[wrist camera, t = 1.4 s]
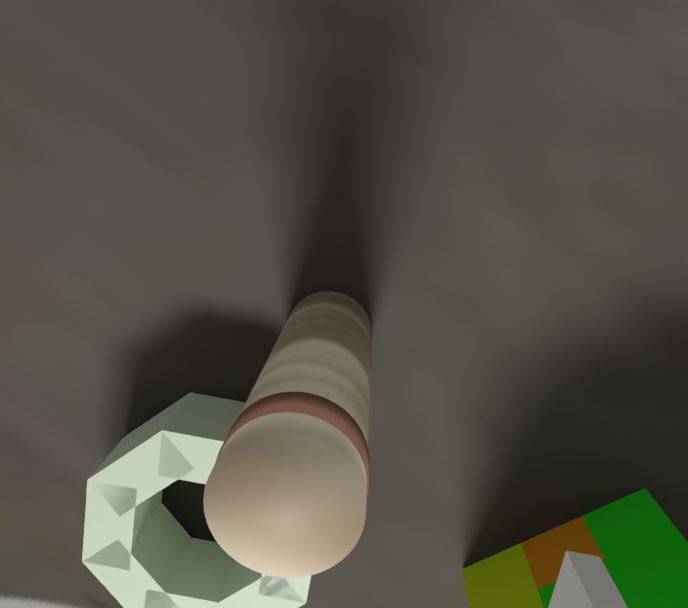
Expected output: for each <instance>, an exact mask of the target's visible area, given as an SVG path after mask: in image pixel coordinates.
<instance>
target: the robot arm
mask: <svg viewBox="0 0 688 608" xmlns="http://www.w3.org/2000/svg"><path fill="white" fill-rule="evenodd" d="M548 608H628V607H627V605H626V603H625V602H624V600H623V598H622V596H621V594H620V593H619V591H618V589H617V587H616V585H615V584H614V582H613V580H612V578H611V576H610V575H609V573H608V571H607V569H606V567H605V565H604V564H603V562H602V560H601V558H600V557H598V556H593V555H587V554H582V553H576V552H571V551H566V553H565V556H564V560H563V563H562V566H561V569H560V572H559V575H558V579H557V582H556V585H555V588H554V591H553V595H552V598H551V601H550V604H549V607H548Z"/></svg>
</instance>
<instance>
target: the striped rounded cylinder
mask: <svg viewBox="0 0 688 608" xmlns="http://www.w3.org/2000/svg"><path fill="white" fill-rule="evenodd" d="M371 337H372V329H371V323H370V320H369V317H368V315H367V313H366V312H365V310H364V309H363V307H362V306H361V305H360V304H359V303H358V302H357V301H356V300H354V299H353V298H351V297H349V296H348V295H345V294H343V293H339V292H334V291H322V292H317V293H313V294H311V295H309V296H307V297H305V298H304V299H302V300H301V301H300V302H299V303H298V304H297V305H296V306H295V307H294V309H293V310H292V312H291V314H290V316H289V318H288V320H287V322H286V324H285V326H284V328H283V330H282V332H281V334H280V335H279V337H278V339H277V341H276V343H275V345H274V347H273V349H272V351H271V353H270V355H269V357H268V359H267V361H266V363H265V365H264V367H263V369H262V371H261V373H260V375H259V377H258V379H257V381H256V383H255V385H254V387H253V389H252V391H251V393H250V395H249V397H248V399H247V401H246V403H245V405H244V407H243V409H242V411H241V413H240V415H239V416H238V418H237V419H236V420H235V422H234V423H233V425H232V427H231V429H230V431H229V433H228V435H227V437H226V439H225V441H224V443H223V445H222V447H221V449H220V451H219V453H218V456H217V459H216V463H215V465H214V467H213V469H212V471H211V473H210V475H209V477H208V480H207V482H206V485H205V490H204V500H203V505H204V513H205V518H206V522H207V524H208V527H209V529H210V531H211V533H212V535H213V537H214V538H215V540H216V541H217V543H218V544H219V545H220V547H221V548H222V549H223V550H224V551H225V552H226V553H227V554H228V555H229V556H231V557H232V558H233V559H234V560H236V561H237V562H239V563H240V564H242V565H243V566H245V567H247V568H249V569H251V570H254V571H256V572H259V573H262V574H265V575H270V576H275V577H282V578H296V577H305V576H310V575H314V574H317V573H320V572H323V571H325V570H327V569H329V568H331V567H333V566H334V565H336V564H337V563H339V562H340V561H341V560H342V559H344V558H345V557H346V556H347V555H348V554H349V553H350V552H351V550H352V549H353V548H354V546H355V545H356V543H357V542H358V540H359V538H360V536H361V534H362V531H363V527H364V524H365V517H366V499H367V496H368V488H369V451H368V432H369V400H370V369H371Z"/></svg>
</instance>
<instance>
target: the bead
mask: <svg viewBox="0 0 688 608" xmlns="http://www.w3.org/2000/svg"><path fill="white" fill-rule="evenodd" d="M245 403H246V402H241V401H235V400H230V399H225V398H219V397H214V396H208V395H203V394H197V393H192V392H190V393H189V394H187V395H186V396H184V397H183V398H181V399H180V400H178V401H177V402H175V403H174V404H172V405H171V406H169V407H168V408H166V409H165V410H163V411H162V412H160V413H159V414H157V415H156V416H154V417H153V418H151V419H150V420H148V421H147V422H145V423H144V424H142V425H141V426H139V427H138V428H136V429H135V430H133V431H132V432H130V433H129V434H127V435H126V436H125V437H124V438H123V439H122V440H121V441H120V442H119V444H118V445H117V446H116V447H115V448H114V449H113V451H112V452H111V453H110V454H109V455H108V456H107V458H106V459H105V460H104V461H103V462H102V463H101V465H100V466H99V467H98V468H97V469H96V471H95V472H94V473H93V474H92V475H91V476H90V478H89V479H88V481H87V496H86V511H85V526H84V541H83V557H82V562H83V563H84V564H85V565H86V567H87V568H88V569H89V570H90V571H91V572H92V573H93V574H94V575H95V576H96V577H97V579H98V580H99V581H100V582H101V583H102V584H103V585H104V586H105V587H106V588H107V590H108V591H109V592H110V593H111V594H112V595H113V596H114V597H115V598H116V599H117V601H118V602H119V603H120V604H121V605H122V606H123V607H124V608H298V607H300V606H302V605H304V604H305V603H306V600H307V595H308V590H309V584H310V579H311V575H310V576H305V577H296V578H282V577H275V576H270V575H265V574H262V573H259V572H256V571H254V570H251V569H249V568H247V567H245V566H243V565H242V564H240V563H239V562H237V561H236V560H234V559H233V558H232V557H231V556H229V555H228V554H227V553H226V552H225V551H224V550H223V549H222V548H221V547H220V545H219V544H218V543H217V542H213V541H208V540H202V539H197V538H191V536H190V535H189V534H188V533H187V532H186V531H185V529H184V528H183V527H182V526H181V525H180V524H179V522H178V521H177V520H176V519H175V518H174V517H173V515H172V514H171V513H170V512H169V511H168V510H167V508H166V507H165V506H164V505H163V504H162V493H163V489H164V488H165V487H167V486H169V485H170V484H172V483H173V482H175V481H176V480H178V479H179V480H185V481H190V482H195V483H201V484H206V482H207V480H208V477H209V475H210V473H211V471H212V469H213V467H214V465H215V463H216V459H217V456H218V453H219V451H220V449H221V447H222V445H223V443H224V441H225V439H226V437H227V435H228V433H229V431H230V429H231V427H232V425H233V423H234V422H235V420H236V419H237V418H238V416H239V415H240V413H241V411H242V409H243V407H244V405H245Z"/></svg>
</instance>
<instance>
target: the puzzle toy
mask: <svg viewBox="0 0 688 608" xmlns="http://www.w3.org/2000/svg"><path fill="white" fill-rule="evenodd" d="M566 551H571V552H576V553H582V554H587V555H593V556H598V557H600V558H601V560H602V562H603V564H604V565H605V567H606V569H607V571H608V573H609V575H610V576H611V578H612V580H613V582H614V584H615V585H616V587H617V589H618V591H619V593H620V594H621V596H622V598H623V600H624V602H625V603H626V605H627V607H628V608H688V542H687V541H686V540H685V538H684V537H683V536H682V535H681V533H680V532H679V531H678V529H677V528H676V527H675V525H674V524H673V523H672V522H671V520H670V519H669V518H668V516H667V515H666V514H665V512H664V511H663V510H662V509H661V507H660V506H659V505H658V503H657V502H656V501H655V499H654V498H653V497H652V496H651V494H650V493H649V492H648V490H647V489H646V488H644V489H641V490H639V491H637V492H635V493H632V494H630V495H628V496H626V497H623V498H621V499H619V500H617V501H614V502H612V503H610V504H608V505H605V506H603V507H601V508H599V509H596V510H594V511H592V512H590V513H587V514H585V515H583V516H581V517H578V518H576V519H574V520H572V521H569V522H567V523H565V524H563V525H560V526H558V527H556V528H554V529H551V530H549V531H547V532H545V533H542V534H540V535H538V536H536V537H533V538H531V539H529V540H527V541H524V542H522V543H520V544H518V545H515V546H513V547H511V548H509V549H506V550H504V551H502V552H500V553H497V554H495V555H493V556H491V557H488V558H486V559H484V560H482V561H479V562H477V563H475V564H473V565H470V566H468V567H466V568H464V569H463V574H464V580H465V585H466V590H467V595H468V600H469V605H470V608H548V607H549V604H550V601H551V598H552V595H553V591H554V588H555V585H556V582H557V579H558V575H559V572H560V569H561V566H562V563H563V560H564V556H565V553H566Z"/></svg>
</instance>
